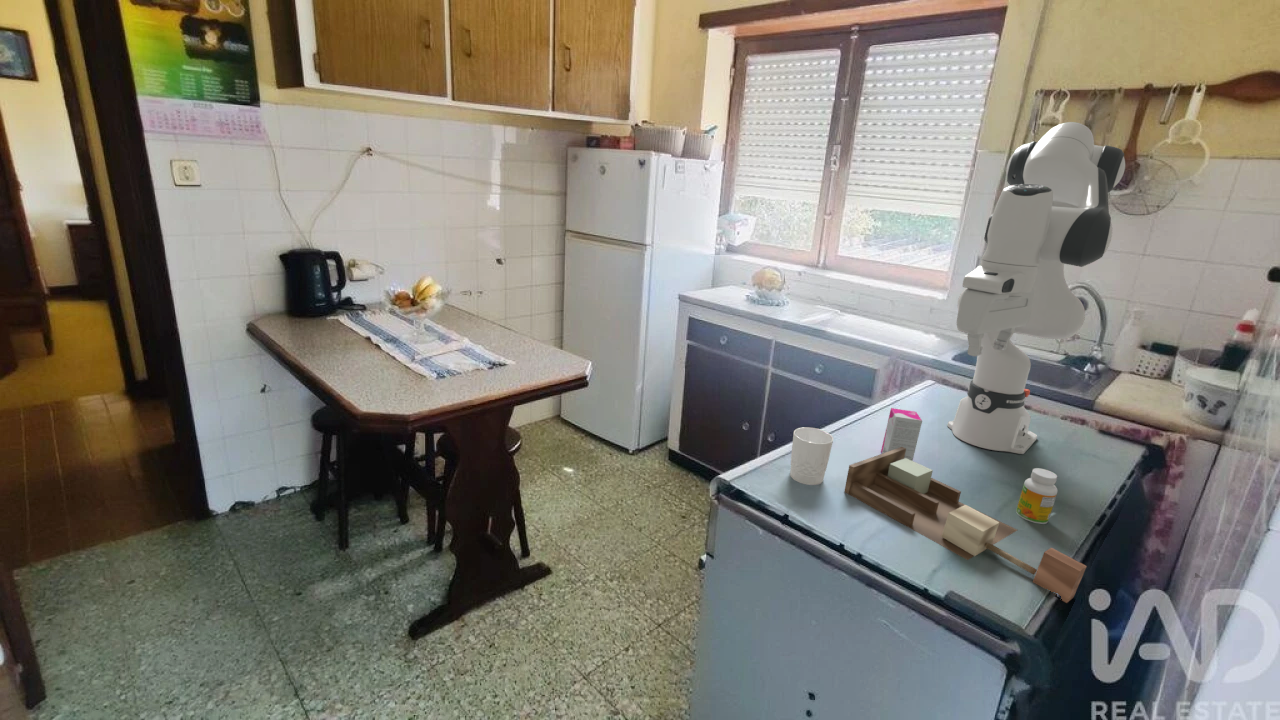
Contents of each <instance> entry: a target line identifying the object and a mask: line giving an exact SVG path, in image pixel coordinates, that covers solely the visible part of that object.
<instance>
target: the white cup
mask: <svg viewBox="0 0 1280 720" xmlns="http://www.w3.org/2000/svg"><path fill="white" fill-rule="evenodd" d="M792 436H793V437H792V444H791V454H790V455H791V456H790V471H789V472H790V473H789V475H790V477H791V478H792V479H793V480H794V481H796V482H797V483H800V484H802V485H808V486H809V485H810V486H817V485H821V484H822V483H823V482H824V479H825V474H826V472H827V471H826V470H827V468H828V464H829V461H830V456H831V451H832V447H833V443H834V437H833V435H832V434H831V433H829V432H827V431H825V430H823V429H819V428H815V427H808V426H807V427H798V428H796V429H795V430H793V435H792Z"/></svg>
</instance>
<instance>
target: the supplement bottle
mask: <svg viewBox="0 0 1280 720" xmlns="http://www.w3.org/2000/svg"><path fill="white" fill-rule="evenodd" d="M1057 480H1058V475H1057V474H1056V473H1054V472H1053V471H1050V470H1048V469H1045V468H1038V467H1036V468H1032V472H1031V474H1030V477H1029V478H1027V479H1025V481H1024V483H1023V485H1022V489H1021V493H1020V496H1019V500H1018V503H1017V505H1016V509H1015V512H1016V515H1017V516H1019V517H1020V518H1022V519H1023V520H1026V521H1029V522H1031V523H1035V524H1042V525H1046V524H1047V523H1049V520H1050V518H1051V513H1052V511H1053V508H1054V504H1055V501H1056V498H1057V495H1058V488H1057V486H1056V485H1055V484H1056V483H1057Z"/></svg>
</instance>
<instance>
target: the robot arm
mask: <svg viewBox="0 0 1280 720" xmlns="http://www.w3.org/2000/svg"><path fill="white" fill-rule="evenodd" d="M1094 140H1095V139H1094V134H1093V133H1092V130H1091V129H1090V128H1089V127H1088V126H1086V125H1085V124H1083V123H1081V122H1075V121H1068V122H1063V123H1059V124H1057V125H1055V126H1053V127H1052V128H1050V129H1049V130H1048V131H1047V132H1046V133H1045V134H1044V135H1043V136H1041V138H1040V139H1039V140H1038V141H1034V140H1033V141H1031V142H1028V143H1023V144H1022V145H1020V146H1018V147H1017V148H1016V149H1015V150H1014V152H1013V153H1012V155H1011V156H1010V158H1009V159H1008V162H1007V165H1006V169H1005V171H1006V180H1007V181H1006V182H1007V183H1008V185H1009V186H1006V187H1004V188H1003V189H1002V191H1001V193H1000V195H999V197H998V200H997V202H996V204H995V207H994V210H993V213H992V214H990V216H989V217H988V220H987V225H986V229H985V233H984V242H985V243H986V244H987V246H986V249H985V251H984V253H983V255H982V257H981V260H980V264H979V265H978V266H977V267H976V268H974V269H973V270H972V271H971V272H969V273H967V274H966V275H965V276H964V278H963V281H962V287H963V290H962V291H961V293H960V294H959V296H958V299H957V305H956V306H957V311H958V312H957V317H956V327H957V330H958V331H959V332H962V333H965V334H967V336H966V337H967V343H968V349H967V355H969V356H971V357H976V362H975V363H976V364H975V369H974V374H973V378H972V379H971V381H970V382H969V384H968V388H967V396H965V397H963V398H961V399H960V401H959V404H958V406H957V410H956V412H955V416H954V419H953V420H950V421H948V422H947V424H946V426H947V427H948V428H949V429H950V430H951V432H952V434H953V435H954V436H955V437H956V438H957V439H959V440H961V441H963V442H965V443H967V444H969V445H972V446H975V447H978V448H982V449H985V450H989V451H990V450H992V451H996V452H997V451H999V452H1007V453H1014V454H1019V455H1024V454H1025V453H1026V452H1027V451H1028V450H1029V448H1030V447H1031V446H1033V444H1034V443H1035V442H1036V441H1037V439H1038V435H1037V434H1036V433H1034V432H1032V431H1031V430H1030V429H1029V428H1030V424H1031V420H1032V415H1030V413H1029V412H1028V411H1027V409H1026V408H1025V401H1026V398H1028V397H1029V396H1030V394H1031V393H1030V392H1031V390H1030V389H1027V388H1026V385H1027V381H1028V378H1029V373H1030V370H1031V367H1032V366H1031V365H1032V363H1031V359H1030V357H1029V355H1027V354H1026V352H1025V351H1023V350H1022V349H1020V348H1019V347H1018V346H1016V345H1015V344H1013V342H1012V341H1011V339H1012V336H1013V334H1017V335H1022V336H1026V337H1027V336H1028V337H1033V338H1037V339H1038V338H1039V339H1045V340H1046V339H1047V340H1068V339H1069V338H1071V337H1073V336H1075V335H1076V334H1077V333H1078V332H1079V331H1080V330H1081V328H1082V327H1083V325H1084V323H1085V319H1086V310H1085V307H1084V304H1083V303H1082V300H1080V298H1079V297H1077V296H1076V295H1075V293H1073V292H1072V290H1071V289H1070V288H1069V286H1068V284H1067V282H1066V278H1065V271H1064V269H1065V265H1068V266H1069V265H1070V266H1074V267H1081V268H1083V267H1085V266H1088V265H1090V264H1092V263H1094V262H1097V261H1098V260H1100V259H1101V258H1103V256H1104V255H1105V254H1106V252H1107V250H1108V249H1109V246H1110V243H1111V241H1112V237H1113V225H1112V217H1111V215H1110V211H1109V209H1110V207H1109V206H1110V205H1109V193H1110V192H1112V191H1113V189H1114V188H1115V187H1116V186H1117V185H1118V184H1119V183H1120V181H1121V180H1122V178H1123V176H1124V173H1125V170H1126V159H1125V153H1124V151H1123V149H1121V148H1120V147H1119V148H1118V147H1117V146H1112V145H1108V144H1106V145H1104V146H1103V145H1097V144H1095V141H1094Z"/></svg>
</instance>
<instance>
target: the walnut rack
mask: <svg viewBox="0 0 1280 720" xmlns="http://www.w3.org/2000/svg"><path fill="white" fill-rule="evenodd" d="M905 452H906V448H904V447H900V448H897V449H894V450H891V451H888V452H886V453H883V454H881V453H880V454H877V455H875V456H872V457H869V458H865V459H863V460H860V461H857V462H854V463H852V464H849V465H848V471H847V475H846V480H845V486H844V490H843V491H844V493H845V494H847V495H849V496H850V497H852V498H855V499H856V500H858V501H860V502H861V503H863V504H865V505H867V506H868V507H871V509H874V510H875V511H878V512H880V513H882V514H884V515H885V516H887V517H888V518H890V519H892V520H893V521H896V522H898V523H899V524H901V525H903V526H905V527H906V528H908V529H911V530H913V531H914V532H916V533H917V534H919V535H921V536H922V537H923V536H924V537H925V538H927V539H928V540H930V541H932V542H933V543H936V544H938V545H939V546H941V547H943V548H945V549H947V550H948V551H950V552H952V553H954V554H956V555H958V556H959V557H961V558H963V559H964V560H966V561H968V560H970V559H972V558H973V557H975V556H973V555H972V554H970V553H968V552H967V551H965V550H963V549H961V548H960V547H958V546H956V545H955V544H953V543H951V542H950V541H948V540H946V539H944V538H943V537H941V536H942V533H943V530H944V527H945V524H946V520H947V517H948V514H949V513H950V512H952V511H954V510H956V509H958V508H960V507H962V506H964V505H966V504H964V503H962V502H960V497H961V493H962V490H958V489H957V488H955V487H952V486H950V485H949V484H946V483H943V482H941V481H939V480H937V479H935V478H933V477H931V480H930V484H929V488H928V492H927V493H924V494H922V493H920V492H918V491H916V490H914V489H912V488H910V487H908V486H906V485H904V484H902V483H900V482H898V481H896V480H894V479H892V478H890V477H888V471H889V466H890V464H891V463H894V462H896V461H899V460H902V459H904V456H905ZM979 512H980V513H982V514H984V515H986V516H988V517H990V518H992V519H994V520H996V521H997V522H999V525H998V528H997V531H996V534H995V537H994V539H993V542H992V545H994V546H995V545H996V544H997V543H999V542H1000V541H1002V540H1004V539H1006V538H1008V537H1010V535H1012V534H1013V533H1015V532H1017V531H1018V529H1016V528H1015V527H1013V526H1011V525H1008V524H1006V523H1004V522H1003V521H1000V520H998V519H996V518H994V517H992V516H989V515H987V514H986V513H983V512H981V511H979Z"/></svg>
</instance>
